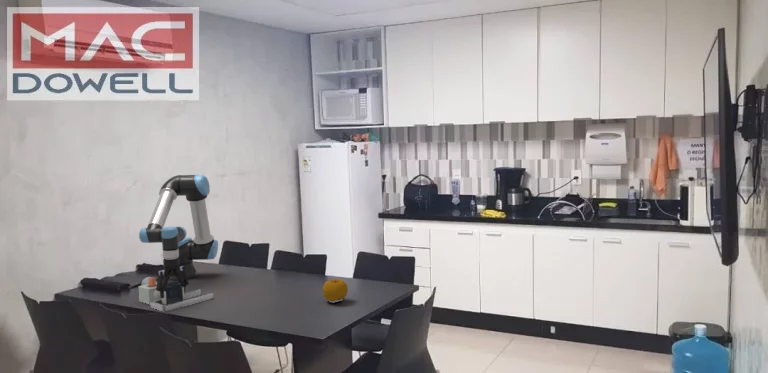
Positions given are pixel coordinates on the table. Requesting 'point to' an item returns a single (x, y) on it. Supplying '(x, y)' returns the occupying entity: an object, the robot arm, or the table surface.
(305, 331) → the table surface
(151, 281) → the gauge plunger
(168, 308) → the rail
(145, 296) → the cabinet
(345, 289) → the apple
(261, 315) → the table surface
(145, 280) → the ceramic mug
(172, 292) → the box
